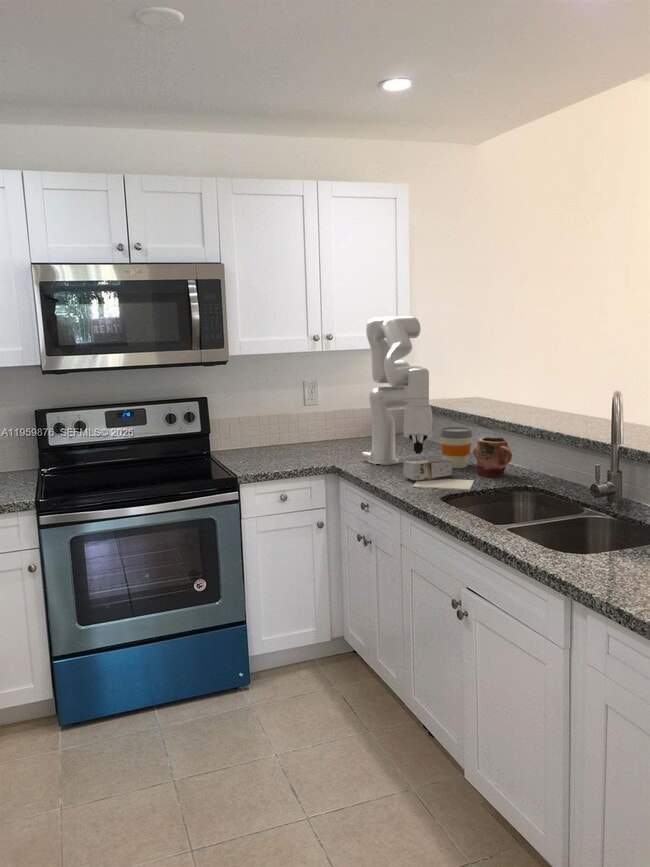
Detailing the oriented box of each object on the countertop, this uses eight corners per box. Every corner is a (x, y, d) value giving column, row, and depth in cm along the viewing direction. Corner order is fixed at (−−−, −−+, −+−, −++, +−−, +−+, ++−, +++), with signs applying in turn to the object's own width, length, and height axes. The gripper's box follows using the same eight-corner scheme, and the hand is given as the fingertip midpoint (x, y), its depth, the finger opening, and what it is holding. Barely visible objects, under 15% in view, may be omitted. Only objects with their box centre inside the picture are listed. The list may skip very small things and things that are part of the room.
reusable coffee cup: (446, 461, 296) (446, 426, 294) (475, 464, 290) (476, 428, 287) (435, 467, 285) (435, 430, 283) (465, 470, 279) (465, 432, 277)
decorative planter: (524, 478, 263) (525, 441, 261) (500, 482, 257) (501, 444, 255) (486, 469, 280) (487, 434, 278) (463, 472, 274) (463, 437, 272)
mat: (412, 487, 252) (412, 486, 252) (419, 479, 265) (419, 477, 265) (469, 490, 246) (469, 488, 246) (474, 481, 259) (474, 480, 259)
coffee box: (412, 480, 257) (453, 479, 262) (413, 463, 257) (453, 461, 261) (402, 477, 266) (442, 475, 271) (403, 460, 265) (442, 458, 270)
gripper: (395, 403, 252) (395, 454, 255) (437, 404, 248) (437, 456, 251) (399, 401, 259) (399, 450, 262) (440, 401, 255) (440, 452, 258)
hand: (418, 453), depth 257 cm, fingers closed
